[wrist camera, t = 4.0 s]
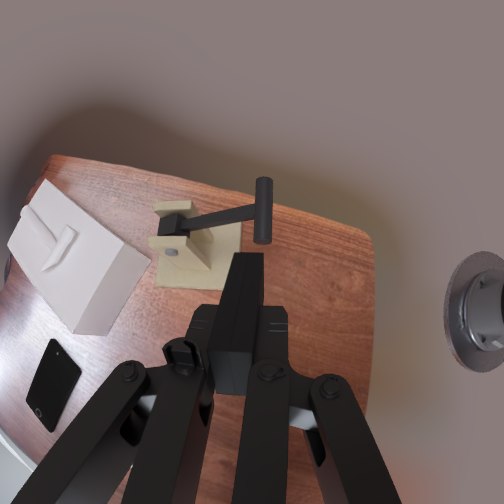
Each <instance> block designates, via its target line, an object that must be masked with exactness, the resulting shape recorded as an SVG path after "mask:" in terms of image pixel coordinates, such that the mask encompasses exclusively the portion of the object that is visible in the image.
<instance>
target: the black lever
mask: <svg viewBox="0 0 504 504" xmlns="http://www.w3.org/2000/svg"><path fill="white" fill-rule="evenodd" d="M272 207H273V180H272V179H271V178H269V177H259V178H257V180H256V194H255V204H250V205H245V206H241V207H236V208H232V209H227V210H223V211H218V212H214V213H210V214H205V215H201V216H197V217H193V218H188V219H187V218H185V217H183V216H182V215H180V214H178V213H176V214H173V215H169V216H166V217H162V218H160V222H159V228H158V234H157V236H187V237H188V238H189V239H190V232H191V231H196V230H201V229H206V228H211V227H216V226H222V225H227V224H232V223H238V222H243V221H248V220H254V236H253V242H254V243H256V244H260V245H267V244H270V243H271V242H272Z"/></svg>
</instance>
